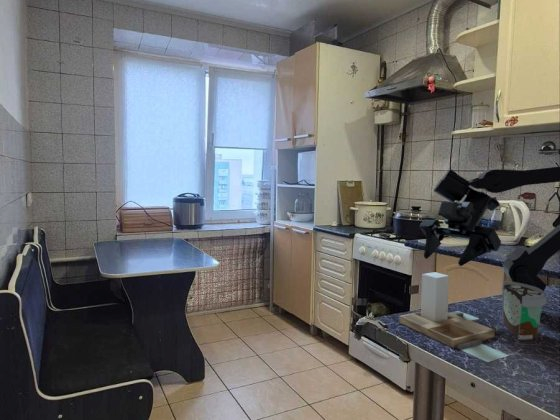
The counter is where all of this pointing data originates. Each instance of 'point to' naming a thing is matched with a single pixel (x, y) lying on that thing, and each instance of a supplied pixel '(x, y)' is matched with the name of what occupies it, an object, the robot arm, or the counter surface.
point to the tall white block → (434, 296)
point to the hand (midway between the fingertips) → (441, 261)
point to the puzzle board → (456, 333)
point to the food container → (522, 309)
